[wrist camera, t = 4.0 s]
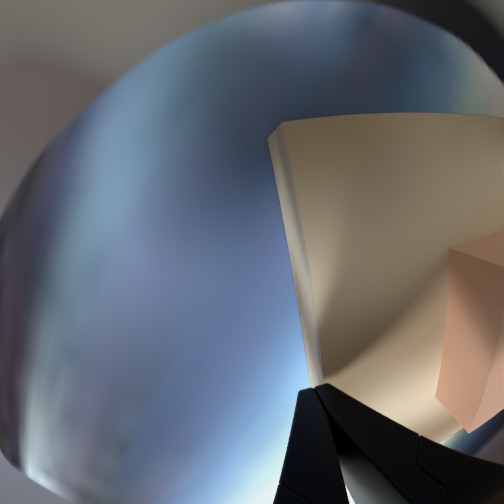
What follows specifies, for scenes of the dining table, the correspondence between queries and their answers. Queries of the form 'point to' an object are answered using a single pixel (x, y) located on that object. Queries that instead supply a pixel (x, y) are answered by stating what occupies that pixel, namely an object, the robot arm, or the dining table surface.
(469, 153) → the birch plate
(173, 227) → the dining table surface
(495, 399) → the terracotta tile
